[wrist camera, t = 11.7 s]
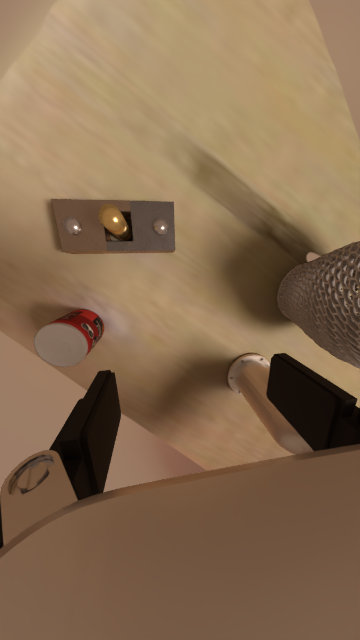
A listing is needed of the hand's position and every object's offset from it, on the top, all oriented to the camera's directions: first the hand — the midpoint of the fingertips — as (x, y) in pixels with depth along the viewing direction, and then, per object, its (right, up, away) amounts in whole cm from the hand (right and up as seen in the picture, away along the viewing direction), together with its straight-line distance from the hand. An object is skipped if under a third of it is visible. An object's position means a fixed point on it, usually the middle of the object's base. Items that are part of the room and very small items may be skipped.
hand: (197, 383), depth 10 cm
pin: (-12, +21, +24) cm, 34 cm away
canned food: (-22, +3, +28) cm, 36 cm away
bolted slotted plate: (-12, +21, +24) cm, 34 cm away
